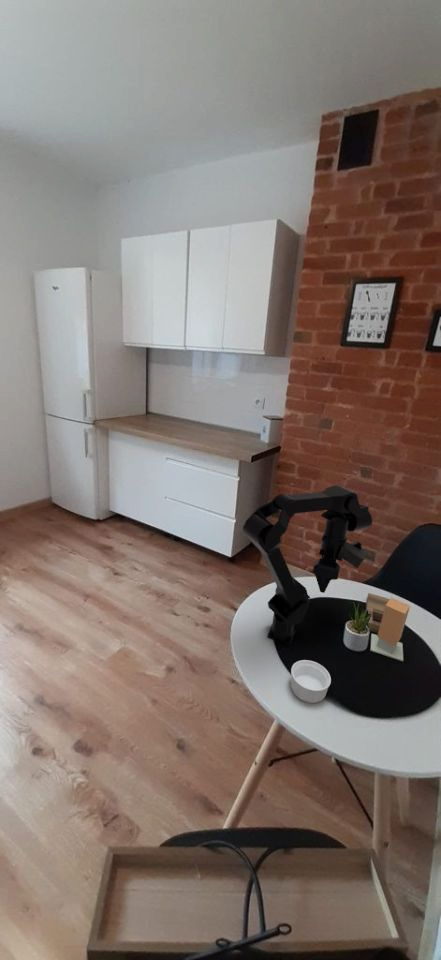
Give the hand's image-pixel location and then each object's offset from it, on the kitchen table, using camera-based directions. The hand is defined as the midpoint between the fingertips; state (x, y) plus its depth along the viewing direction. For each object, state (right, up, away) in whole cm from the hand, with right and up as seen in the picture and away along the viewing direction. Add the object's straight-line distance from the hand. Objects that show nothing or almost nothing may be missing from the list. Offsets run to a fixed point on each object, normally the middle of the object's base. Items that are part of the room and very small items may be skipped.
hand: (324, 583), depth 108 cm
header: (+19, -13, +9) cm, 25 cm away
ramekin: (-9, -19, -19) cm, 28 cm away
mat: (+16, -16, -3) cm, 23 cm away
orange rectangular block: (+16, -16, -3) cm, 23 cm away
